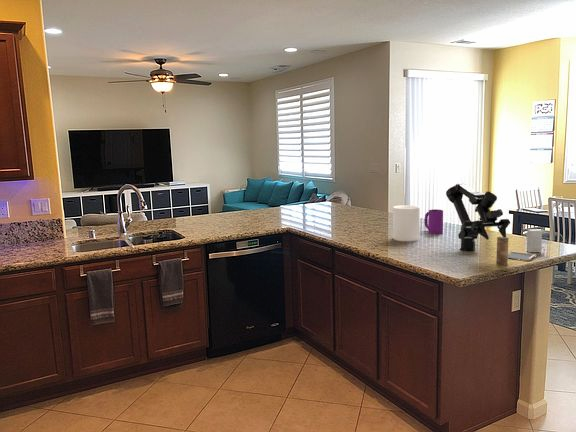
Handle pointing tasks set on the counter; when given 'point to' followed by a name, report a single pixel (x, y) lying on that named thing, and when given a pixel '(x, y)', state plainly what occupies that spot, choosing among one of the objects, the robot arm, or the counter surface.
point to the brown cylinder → (502, 251)
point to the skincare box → (534, 240)
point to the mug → (434, 221)
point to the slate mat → (521, 255)
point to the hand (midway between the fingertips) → (496, 238)
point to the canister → (406, 223)
